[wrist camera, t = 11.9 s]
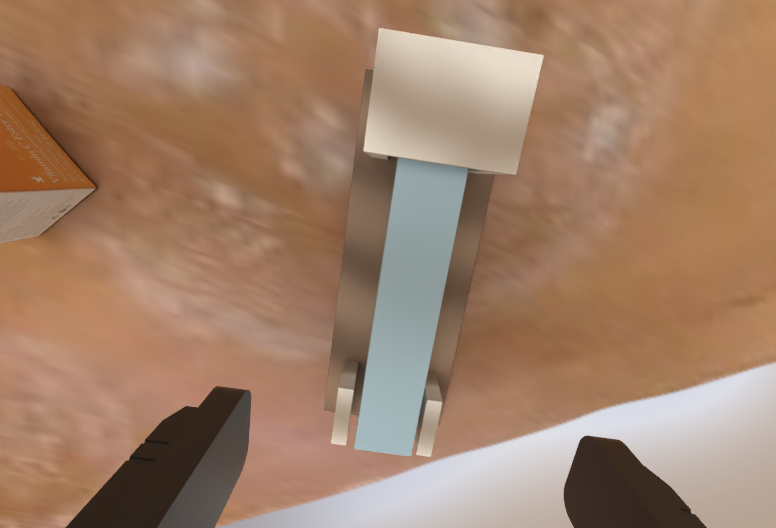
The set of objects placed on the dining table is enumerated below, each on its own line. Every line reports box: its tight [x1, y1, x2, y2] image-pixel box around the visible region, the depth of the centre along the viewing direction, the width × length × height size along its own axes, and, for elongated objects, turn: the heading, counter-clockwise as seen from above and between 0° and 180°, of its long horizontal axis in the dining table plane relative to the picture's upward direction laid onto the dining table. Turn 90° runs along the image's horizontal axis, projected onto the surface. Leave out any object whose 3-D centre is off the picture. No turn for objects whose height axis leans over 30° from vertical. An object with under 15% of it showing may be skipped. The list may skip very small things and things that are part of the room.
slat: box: [354, 157, 469, 457], centre depth 23 cm, size 20×4×5 cm, turn 171°
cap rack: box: [324, 28, 544, 457], centre depth 22 cm, size 24×9×9 cm, turn 171°
